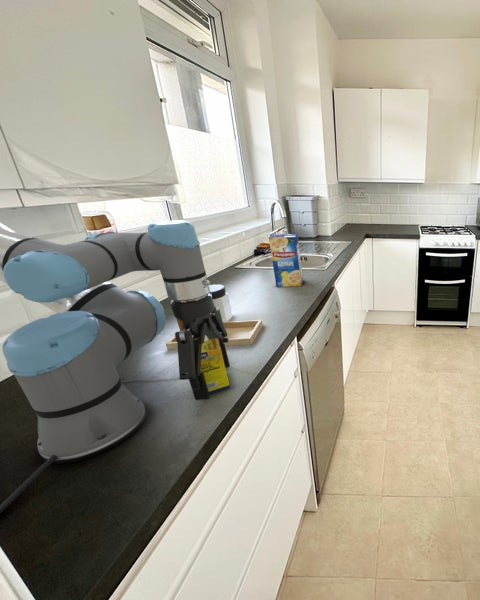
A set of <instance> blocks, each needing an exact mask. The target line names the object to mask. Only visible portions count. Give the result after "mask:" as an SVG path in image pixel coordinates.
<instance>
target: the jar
mask: <svg viewBox="0 0 480 600" xmlns="http://www.w3.org/2000/svg"><path fill="white" fill-rule="evenodd" d="M209 288H210V292H209V293H210V294H211V295H212V299H213V303H214V306H215V307H219V308H220V313H221V317H222V321H223V322H230V320H231V319H232V318H233V317H234V316H233V310H232V307H231V306H232V305H231V303H230V297H229V293H227V291H226V287H225V285H224V284H218V283H217V284H209Z"/></svg>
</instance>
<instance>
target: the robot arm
mask: <svg viewBox="0 0 480 600" xmlns="http://www.w3.org/2000/svg"><path fill="white" fill-rule="evenodd" d="M200 246H201V243H200V241H199V239H198V235H197V232H196V230H195V226H194V225H193V223H192V222H190V221H187V220H181V219H179V220H177V219H176V220H162V221H161V220H160V221H155V222H151V223H149V224H148V225H147V232H115V231H107V232H100V233H98V232H97V233H92V234H89V235H87V236H86V238H85V239H84V240H81V241H76V242H71V243H68V244H62V243H56V242H52V241H48V240H45V239H44V240H43V239H41V238H37V237H33V236H30V235H26V234H23V233H18V232H16V231H14V230H13V229H11V228H9V227H8V226H6V225H5V224H3V223H1V222H0V282H2V283H3V284H5V285H7V286H8V287H9V288H10V289H11V290H12V292H14V293H15V294H19V295H21V296H22V297H23V298H24V299H25V300H28V301H30V302H35V303H39V304H40V305H42V306H44V307H46V308H48V309H49V310H50V311H53V312H54V313H55V314H50V315H49V316H48V317H47V316H46V317H41V318H38V319H36V320H33V321H31V322H29V323H26V324H24V325H23V326H20V327H19V328H17V329H16V330H14V331H13V332H11V333H10V335H8V336H7V337H6V339H5V340H4V342H3V343H2V348H1V349H2V354H3V357H4V359H5V361H6V366H7V369H8V371H9V372H10V373H11V374H13V376H14V378H15V379H16V381H17V382H18V385H19V386H20V388H21V390H22V391H23V393H24V395H25V397H26V399H27V400H28V402H29V404H30V406H31V407H32V410H33V411H34V413H35V415H36V417H37V435H38V438H37V443H36V445H37V446H36V447H37V451H38V453H39V455H40V457H41V458H42V459H43V461H44V463H42V464H41V466H39V467H38V468H37V469H36V470H34V472H33V473H32V474H31V475H30V476H29V477H28V478H26V479H25V481H23V483H21V484H20V485H19V486H18V487H17V488H16V489H15V490H14V492H12V493H11V494H10V495H9V496H8V497H7V498H6V499H5V500H4V501H3V502H2V503H1V504H0V514H2V512H3V511H5V509H7V508H8V507H9V506H10V505H11V504H12V503H13V502H14V501H15V500H16V499H17V498H18V497H19V496H20V495H21V494H22V493H24V491H25V490H26V489H27V488H28V487H29V486H30V485H31V484H32V483H33V482H34V481H35V480H36V479H37V478H39V476H40V475H41V474H43V472H44V471H46V470H47V468H48V467H50V466H51V465H52V464H53V465H55V464H56V465H63V464H72V463H76V462H81V461H85V460H88V459H91V458H93V457H95V456H98V455H100V454H102V453H105V452H107V451H108V450H110V449H113V448H114V447H116V446H118V445H119V444H122V443H123V442H124V441H126V440H127V439H129V438H130V437H131V436H133V434H135V433H136V432H137V431H138V430H139V429H140V427H141V426H142V425H143V424H144V422H145V420H146V419H147V409H146V408H145V404H144V403H143V402H142V400H141V399H139V398H138V397H137V396H134V394H133V393H132V392H131V391H130V390H129V389H128V388H127V387H126V385H124V384H123V382H122V380H121V377H120V375H119V372H118V369H117V366H118V365H119V364H121V363H123V362H124V361H125V360H126V359H128V358H129V357H131V356H133V354H135V353H137V352H138V351H139V350H141V349H142V348H143V347H144V346H146V345H148V344H150V343H151V342H153V341H154V339H156V337H157V336H158V335H160V334H161V333H162V332H163V330H164V329H165V326H166V322H167V316H166V314H165V309H164V307H163V305H162V303H161V302H160V301H159V300H158V298H156V297H155V296H154V295H153V294H151V293H149V292H147V291H143V290H135V289H133V290H132V289H131V290H128V291H125V290H124V289H122V288H121V287H119V286H117V285H116V284H114V283H113V282H110V281H112V280H115V279H118V278H120V277H122V276H124V275H127V274H130V273H132V272H152V271H153V272H155V271H157V272H158V271H160V272H159V273H160V275H161V278H162V280H163V285H164V287H165V291H166V294H167V299H169V300H170V302H169V304H170V307H171V311H172V314H173V317H174V318H175V319H176V318H177V319H180V320H182V321H183V329H184V330H182V331H180V330H179V331H180V332H179V331H175V332H174V336H175V337H176V341H177V345H178V349H177V357H178V358H177V359H178V373H179V380H181V381H183V380H185V381H186V380H188V382H189V385H190V388H191V390H192V393H193V397H194V400H195V401H201V400H209V399H210V398H211V394H209V391H208V388H207V384H206V381H205V377H204V374H203V372H200V370H201V352H202V344H203V343H204V341H205V335H206V336H207V337H208V338H209V339H215V338H218V340H219V343H220V347H221V351H222V356H223V360H224V364H225V369H226V368H230V367H231V363H230V360H229V356H228V351H227V348H226V347H227V346H225V344H224V343H227V342H228V338H225V337H227V332H226V330H225V328H224V326H223V324H222V322H221V320H220V318H219V316H218V314H217V310H216V307H215V306H214V303H213V299H212V295H211V294H210V293H209V292H210V288H209V285H211V281H210V280H209V279H208V275H207V272H206V269H205V264H204V259H203V255H202V252H201V247H200ZM177 319H176V320H177ZM220 332H222V333H220ZM193 339H198V340H193Z"/></svg>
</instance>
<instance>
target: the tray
mask: <svg viewBox="0 0 480 600" xmlns="http://www.w3.org/2000/svg"><path fill="white" fill-rule="evenodd" d="M223 325H224V328H225V330H226V332H227V337H225V338H228V342H227V343H224V344H225V347H236V346H251V345H252V344H253V343H254V341H255V339H256V337H257V336H258V334H259V333H260V331H261V329H262V328H263V326H264V324H263V320H262V319H250V320H249V319H248V320H233V321H232V320H231V321H230V320H229V321H228V322H223ZM178 332H180V330H179V331H178ZM206 340H209V339H208V337H207V336H206V335H205V341H206ZM165 347H166V350H167V351H174V350H176V351H177V350H178V345H177V341H176V337H175V335H173V336H172V337H171V338H170V339H169V340H167V342H166V343H165Z"/></svg>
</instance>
